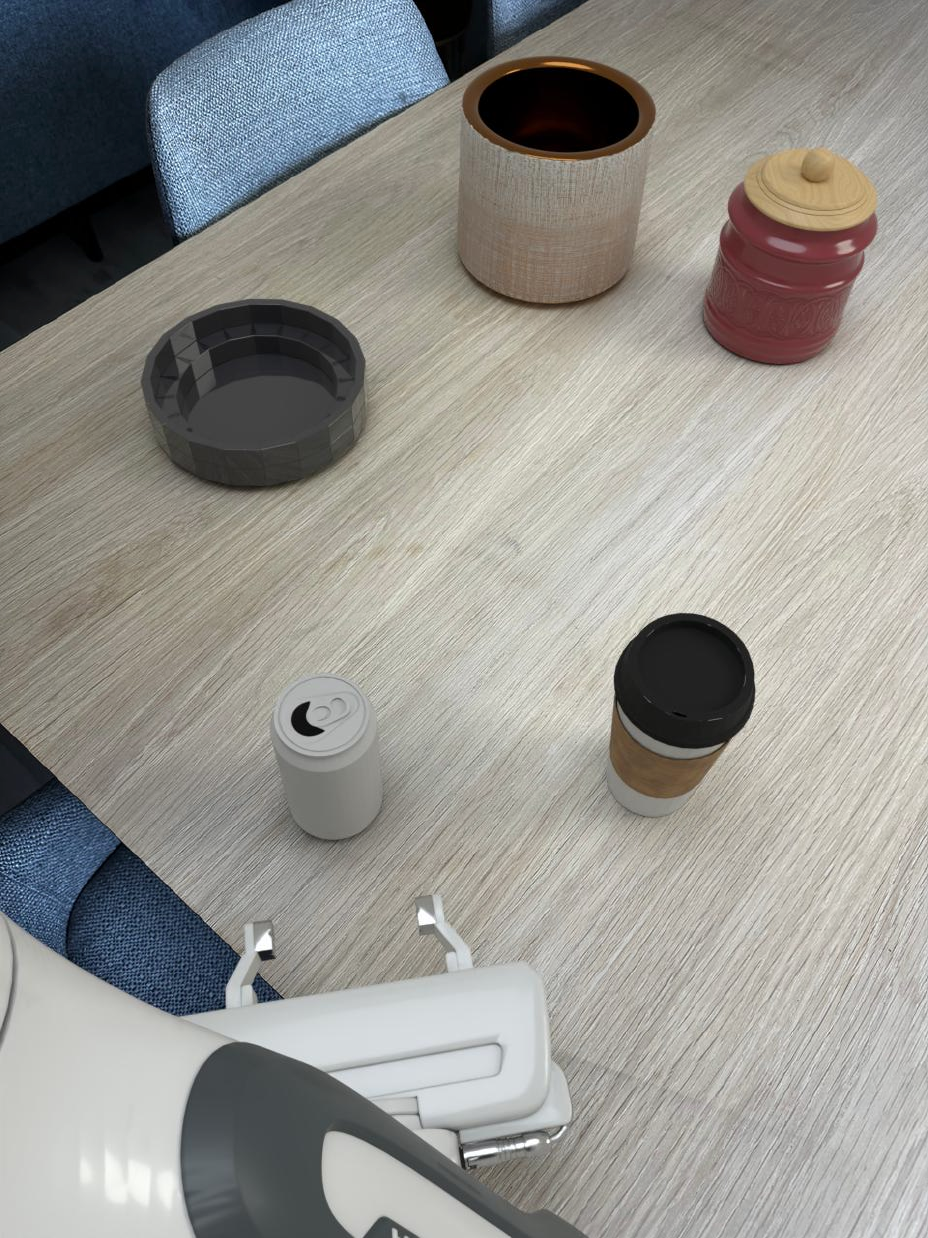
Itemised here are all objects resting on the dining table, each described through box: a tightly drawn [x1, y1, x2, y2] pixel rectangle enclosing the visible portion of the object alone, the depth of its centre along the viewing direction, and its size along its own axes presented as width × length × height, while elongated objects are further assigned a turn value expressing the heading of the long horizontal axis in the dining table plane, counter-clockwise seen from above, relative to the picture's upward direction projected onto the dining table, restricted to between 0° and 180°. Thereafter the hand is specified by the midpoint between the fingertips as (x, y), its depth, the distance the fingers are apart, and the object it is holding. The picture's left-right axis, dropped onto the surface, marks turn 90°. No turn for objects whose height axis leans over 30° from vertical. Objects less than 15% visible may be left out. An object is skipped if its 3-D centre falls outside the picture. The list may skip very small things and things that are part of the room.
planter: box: [456, 55, 657, 305], centre depth 99 cm, size 18×18×16 cm
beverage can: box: [269, 672, 384, 841], centre depth 66 cm, size 6×6×12 cm
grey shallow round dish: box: [140, 298, 369, 487], centre depth 89 cm, size 19×19×5 cm
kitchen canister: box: [702, 146, 879, 365], centre depth 93 cm, size 13×13×18 cm
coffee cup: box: [606, 612, 757, 818], centre depth 66 cm, size 8×8×15 cm
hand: (344, 911), depth 58 cm, fingers open, 8 cm apart
